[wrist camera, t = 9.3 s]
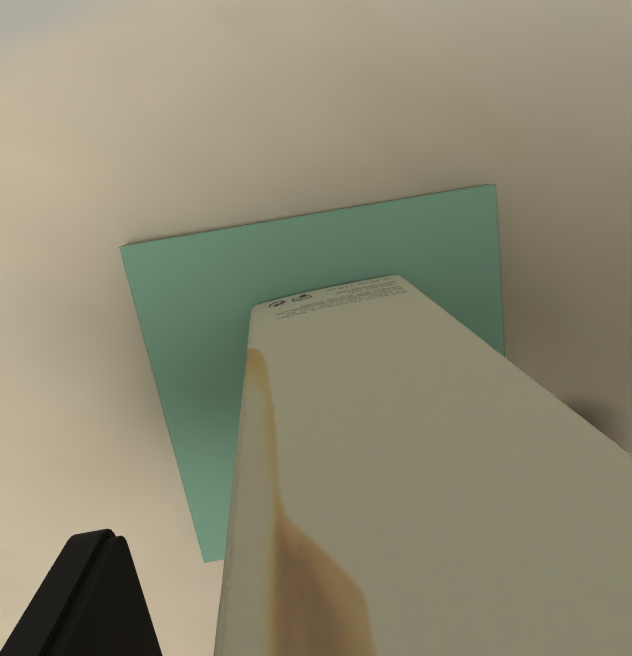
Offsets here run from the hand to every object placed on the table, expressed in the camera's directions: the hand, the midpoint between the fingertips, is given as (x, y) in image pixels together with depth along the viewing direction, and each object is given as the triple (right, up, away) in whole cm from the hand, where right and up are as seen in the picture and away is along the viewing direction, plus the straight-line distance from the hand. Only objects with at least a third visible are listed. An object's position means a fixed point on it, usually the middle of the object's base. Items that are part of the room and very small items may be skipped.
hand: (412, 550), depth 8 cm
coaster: (-1, +2, +7) cm, 7 cm away
